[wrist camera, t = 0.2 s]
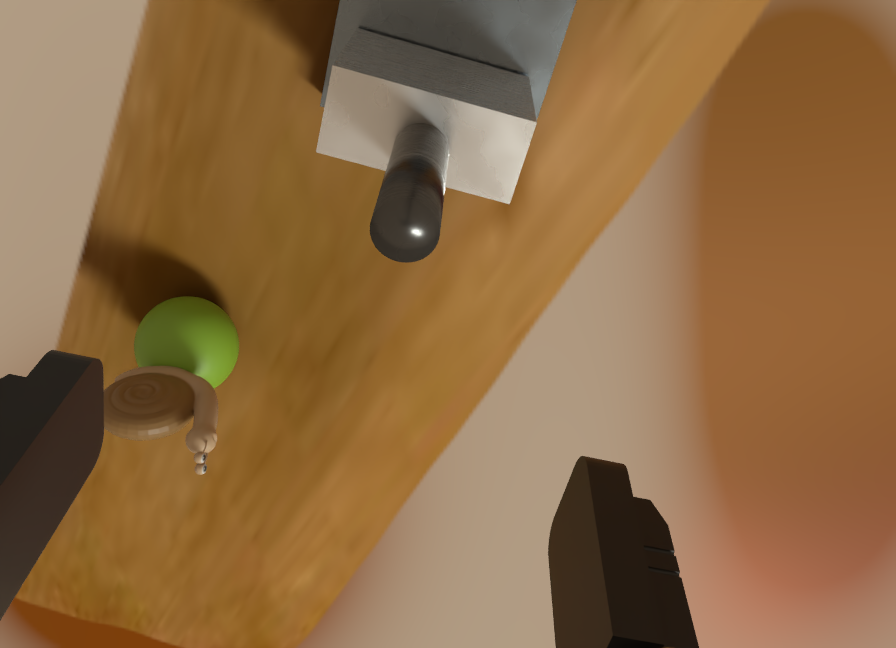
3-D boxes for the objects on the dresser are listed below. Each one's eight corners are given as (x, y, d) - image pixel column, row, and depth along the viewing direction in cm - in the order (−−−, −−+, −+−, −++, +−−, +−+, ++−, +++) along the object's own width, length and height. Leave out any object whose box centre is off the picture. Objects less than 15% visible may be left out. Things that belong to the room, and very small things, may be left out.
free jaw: (357, 27, 36) (291, 128, 24) (529, 77, 37) (549, 198, 25) (342, 103, 38) (273, 232, 26) (506, 148, 39) (515, 294, 26)
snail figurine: (267, 366, 48) (208, 511, 38) (159, 354, 48) (69, 497, 38) (266, 286, 45) (201, 420, 35) (151, 273, 45) (52, 404, 35)
